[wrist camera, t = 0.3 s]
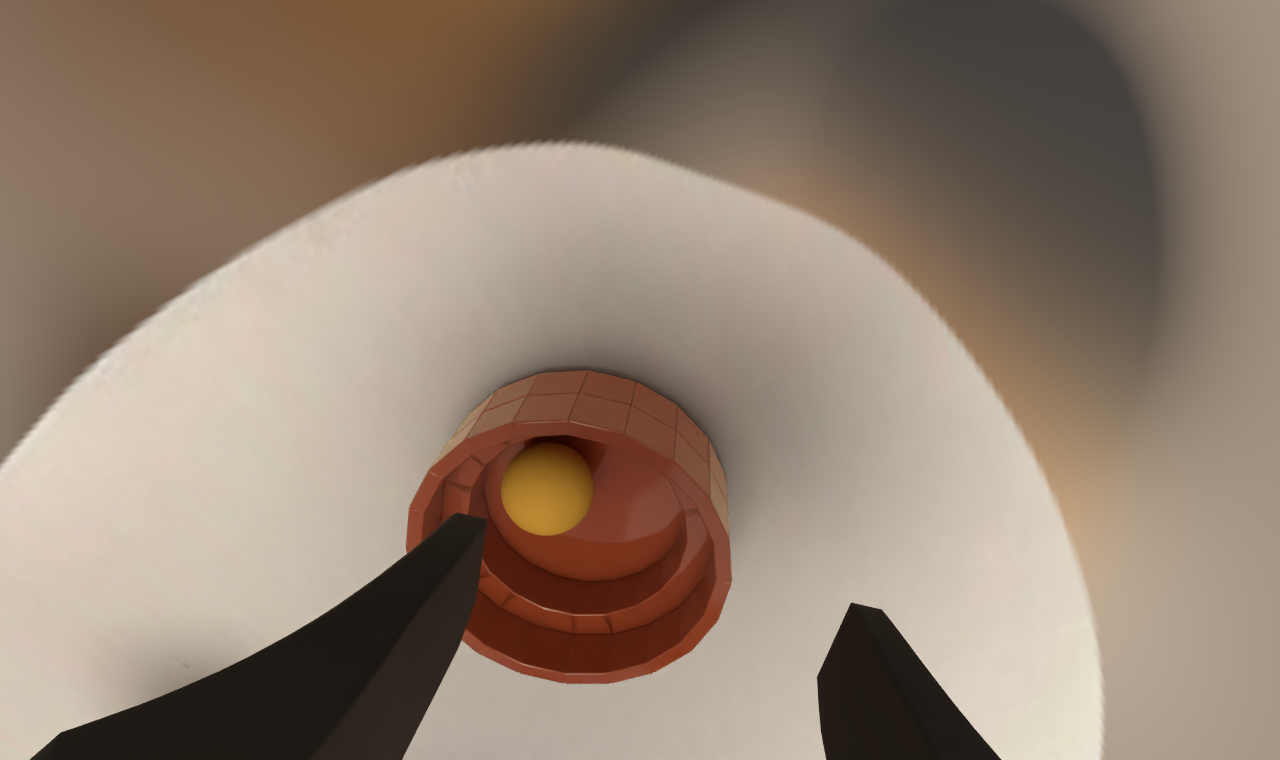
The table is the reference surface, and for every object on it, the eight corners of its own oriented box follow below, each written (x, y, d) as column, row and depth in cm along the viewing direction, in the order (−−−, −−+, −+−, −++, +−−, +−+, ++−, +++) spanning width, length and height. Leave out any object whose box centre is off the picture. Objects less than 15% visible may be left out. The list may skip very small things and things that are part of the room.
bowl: (688, 624, 26) (685, 712, 22) (439, 567, 26) (396, 645, 22) (761, 403, 22) (773, 467, 18) (466, 333, 22) (418, 384, 18)
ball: (591, 508, 24) (576, 564, 21) (509, 489, 24) (483, 542, 21) (607, 437, 22) (594, 486, 20) (521, 417, 22) (495, 463, 20)
